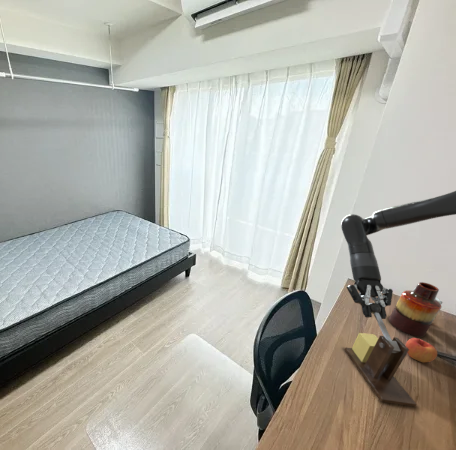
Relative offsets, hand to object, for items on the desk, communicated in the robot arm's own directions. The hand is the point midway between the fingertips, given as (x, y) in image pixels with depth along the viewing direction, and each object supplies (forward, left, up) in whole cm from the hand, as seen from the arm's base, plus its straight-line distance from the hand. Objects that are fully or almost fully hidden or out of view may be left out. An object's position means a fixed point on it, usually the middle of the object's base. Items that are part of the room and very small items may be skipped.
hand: (375, 317), depth 81 cm
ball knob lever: (-1, +2, -2) cm, 3 cm away
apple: (-17, -10, -16) cm, 26 cm away
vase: (-17, -28, -16) cm, 37 cm away
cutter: (-4, +8, -16) cm, 18 cm away
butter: (-1, +2, -15) cm, 15 cm away
